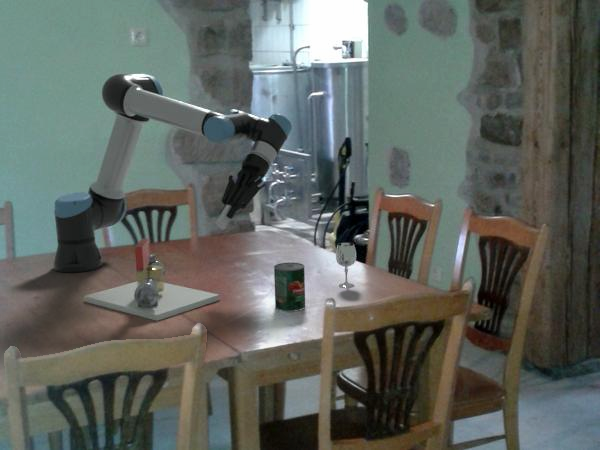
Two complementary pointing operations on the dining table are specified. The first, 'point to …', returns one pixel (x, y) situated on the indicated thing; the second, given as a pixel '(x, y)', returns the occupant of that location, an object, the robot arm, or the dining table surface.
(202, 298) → the plate
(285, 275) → the canned tomato
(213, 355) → the dining table surface
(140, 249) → the valve lever
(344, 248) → the wineglass
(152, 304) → the valve body
